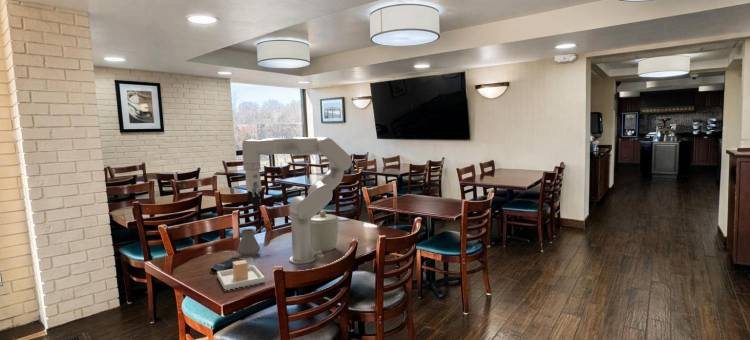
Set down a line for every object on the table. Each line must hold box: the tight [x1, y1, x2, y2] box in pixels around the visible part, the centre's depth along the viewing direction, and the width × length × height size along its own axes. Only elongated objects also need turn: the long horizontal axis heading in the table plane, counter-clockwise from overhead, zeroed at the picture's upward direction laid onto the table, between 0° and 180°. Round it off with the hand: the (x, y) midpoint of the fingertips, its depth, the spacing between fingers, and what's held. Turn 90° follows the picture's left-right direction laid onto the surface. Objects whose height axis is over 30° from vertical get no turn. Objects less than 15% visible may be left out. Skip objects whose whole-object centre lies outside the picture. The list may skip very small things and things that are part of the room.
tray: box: [216, 264, 266, 292], centre depth 173 cm, size 16×18×2 cm
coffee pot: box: [236, 220, 274, 258], centre depth 212 cm, size 21×12×15 cm, turn 143°
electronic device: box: [209, 256, 246, 274], centre depth 189 cm, size 9×6×15 cm
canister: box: [311, 209, 341, 253], centre depth 215 cm, size 18×18×21 cm
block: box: [233, 260, 248, 281], centre depth 173 cm, size 5×5×7 cm
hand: (253, 203), depth 186 cm, fingers open, 9 cm apart
